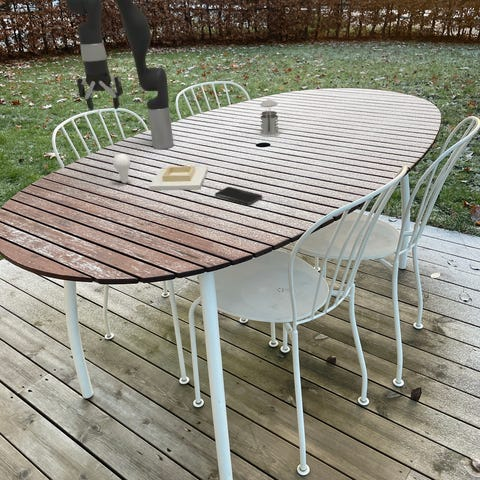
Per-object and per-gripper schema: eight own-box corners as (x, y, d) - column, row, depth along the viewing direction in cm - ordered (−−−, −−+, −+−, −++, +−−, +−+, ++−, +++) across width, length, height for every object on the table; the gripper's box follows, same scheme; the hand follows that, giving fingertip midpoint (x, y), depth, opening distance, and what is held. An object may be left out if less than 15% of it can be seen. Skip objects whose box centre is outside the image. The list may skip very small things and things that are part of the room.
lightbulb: (117, 187, 169) (111, 158, 164) (116, 181, 175) (111, 153, 169) (134, 184, 171) (129, 155, 166) (133, 179, 176) (128, 150, 171)
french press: (280, 130, 223) (279, 75, 211) (279, 137, 213) (279, 80, 201) (259, 131, 224) (257, 76, 212) (258, 138, 214) (256, 81, 202)
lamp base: (161, 172, 181) (160, 163, 180) (207, 171, 179) (207, 162, 178) (149, 190, 165) (148, 180, 164) (200, 189, 164) (199, 179, 162)
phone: (248, 203, 149) (213, 193, 157) (249, 207, 149) (213, 197, 158) (263, 195, 154) (228, 186, 163) (263, 198, 155) (228, 189, 163)
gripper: (119, 55, 154) (127, 105, 162) (77, 57, 156) (87, 107, 163) (112, 59, 148) (121, 111, 156) (68, 61, 149) (79, 112, 157)
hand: (104, 109), depth 159 cm, fingers open, 8 cm apart
